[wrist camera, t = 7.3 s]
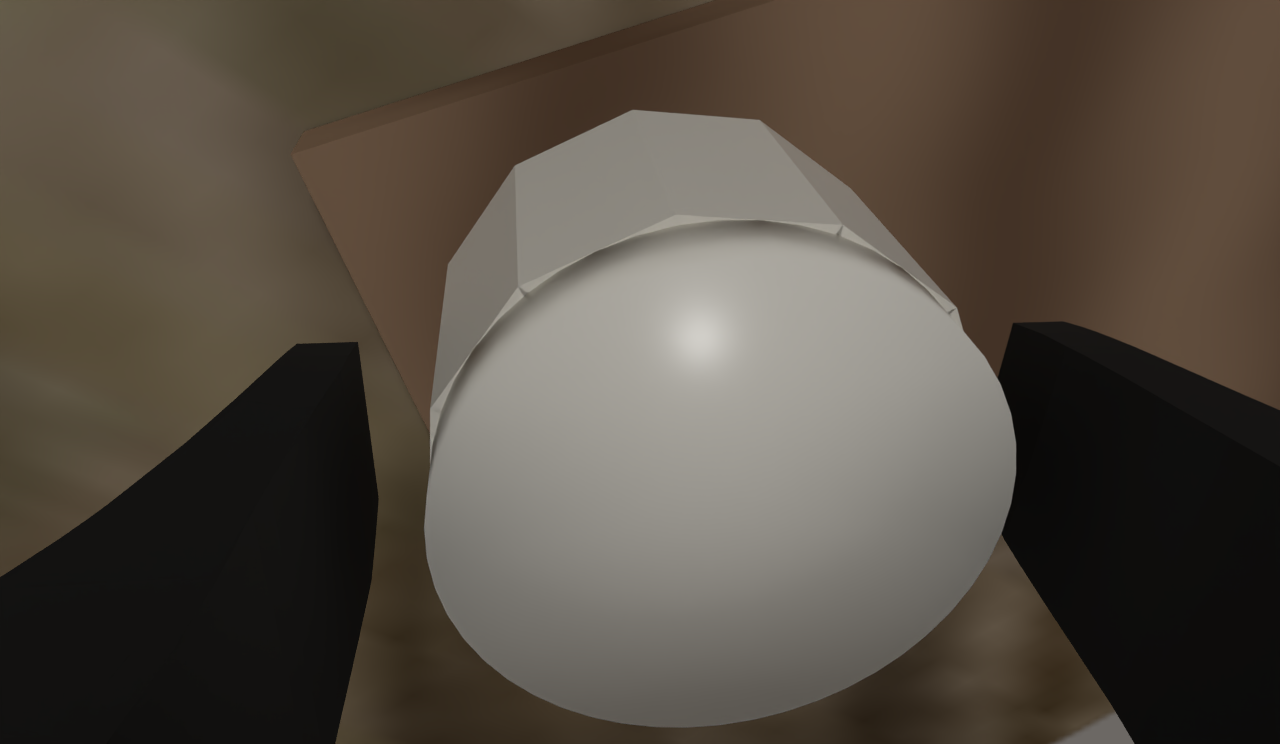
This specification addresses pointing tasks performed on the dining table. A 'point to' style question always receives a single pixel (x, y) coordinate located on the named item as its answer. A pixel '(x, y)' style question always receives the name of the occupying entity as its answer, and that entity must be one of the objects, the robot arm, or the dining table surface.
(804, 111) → the post board
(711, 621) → the cap
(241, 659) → the robot arm
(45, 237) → the dining table surface
